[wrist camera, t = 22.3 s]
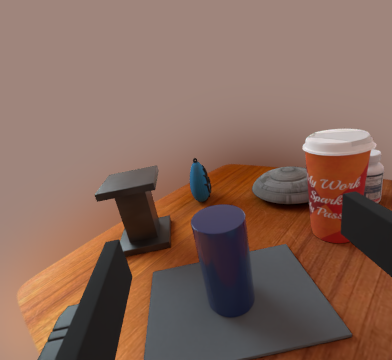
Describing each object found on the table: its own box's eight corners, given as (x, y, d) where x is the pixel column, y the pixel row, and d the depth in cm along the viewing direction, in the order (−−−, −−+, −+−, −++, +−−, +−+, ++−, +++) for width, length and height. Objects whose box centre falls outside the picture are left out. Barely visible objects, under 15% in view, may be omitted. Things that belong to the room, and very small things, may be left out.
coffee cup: (294, 236, 37) (291, 143, 31) (315, 212, 42) (315, 127, 36) (358, 256, 31) (368, 145, 26) (373, 225, 36) (384, 127, 31)
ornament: (214, 206, 51) (207, 162, 47) (193, 209, 51) (184, 166, 47) (211, 190, 58) (205, 151, 55) (193, 193, 59) (185, 154, 55)
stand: (118, 258, 40) (94, 194, 36) (127, 229, 48) (109, 174, 44) (170, 247, 40) (153, 182, 36) (171, 220, 48) (157, 165, 44)
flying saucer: (246, 208, 47) (243, 183, 45) (258, 178, 60) (256, 157, 58) (333, 212, 41) (333, 183, 39) (326, 177, 53) (327, 154, 51)
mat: (142, 383, 22) (141, 380, 22) (153, 274, 35) (153, 271, 35) (352, 336, 22) (352, 334, 22) (285, 246, 35) (285, 243, 35)
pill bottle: (348, 190, 47) (351, 147, 43) (382, 194, 43) (387, 147, 40) (342, 202, 43) (345, 156, 40) (378, 208, 40) (384, 158, 36)
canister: (212, 323, 26) (194, 239, 22) (204, 284, 31) (188, 210, 27) (262, 310, 26) (253, 225, 22) (245, 274, 31) (236, 200, 27)
